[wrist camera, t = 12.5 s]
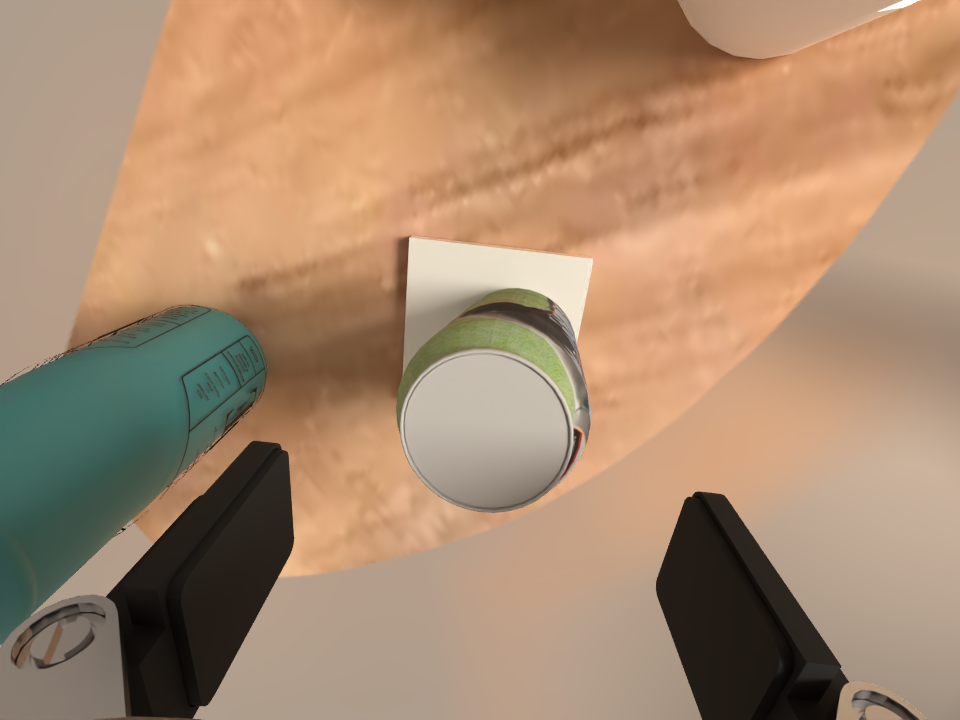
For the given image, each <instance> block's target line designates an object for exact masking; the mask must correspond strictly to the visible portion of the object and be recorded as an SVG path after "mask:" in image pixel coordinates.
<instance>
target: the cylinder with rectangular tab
mask: <svg viewBox="0 0 960 720" xmlns="http://www.w3.org/2000/svg"><path fill="white" fill-rule="evenodd" d="M677 1H678V3H679V5H680V7H681V8H682V10H683V12H684V14H685V16H686V18H687V20H688V22H689V23H690V25H691V26H692V27H693V28H694V29H695V30H696V31H697V32H698V33H699V34H700V35H701V36H702V37H703V38H704V39H705V40H706V41H707V42H708V43H709V44H710V45H713V46H715V47H717V48H719V49H721V50H723V51H725V52H727V53H729V54H731V55H733V56H739V57H746V58H754V59H766V58H772V57H777V56H783V55H789V54H792V53H794V52H797V51H799V50H802V49H804V48H806V47H809V46H811V45H814V44H816V43H819V42H821V41H823V40H826V39H828V38H831V37H833V36H836V35H838V34H840V33H843V32H845V31H848V30H850V29H853V28H855V27H857V26H860V25H862V24H865V23H867V22H869V21H872V20H874V19H877V18H879V17H882V16H884V15H886V14H889V13H891V12H894V11H896V10H899V9H901V8H903V7H906V6H908V5H910V4H912V3H915V2H917V1H919V0H677Z"/></svg>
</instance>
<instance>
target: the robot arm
mask: <svg viewBox="0 0 960 720" xmlns="http://www.w3.org/2000/svg"><path fill="white" fill-rule="evenodd" d="M293 543H294V531H293V516H292V501H291V486H290V471H289V456H288V452H287V451H284V450H282V449H281V446H280V444H278V443H270V442H261V441H252V442H251V443H250V444H249V445H248V446H247V447H246V448H245V449H244V450H243V452H242V453H241V454H240V455H239V456H238V457H237V458H236V459H235V460H234V461H233V463H232V464H231V465H230V466H229V467H228V468H227V469H226V470H225V471H224V473H223V474H222V475H221V476H220V477H219V478H218V479H217V480H216V481H215V483H214V484H213V485H212V486H211V487H210V488H209V489H208V490H207V491H206V493H205V494H204V495H201V496H199V497H198V498H196V499H195V500H194V501H193V502H192V503H191V504H190V505H189V506H188V507H187V509H186V510H185V511H184V512H183V513H182V514H181V515H180V516H179V517H178V518H177V519H176V521H175V522H174V523H173V524H172V525H171V526H170V527H169V528H168V529H167V530H166V531H165V533H164V534H163V535H162V536H161V537H160V538H159V539H158V540H157V541H156V542H155V543H154V545H153V546H152V547H151V548H150V549H149V550H148V551H147V552H146V553H145V554H144V555H143V557H142V558H141V559H140V560H139V561H138V562H137V563H136V564H135V565H134V566H133V567H132V569H131V570H130V571H129V572H128V573H127V574H126V575H125V576H124V577H123V578H122V580H121V581H120V582H119V583H118V584H117V585H116V586H115V587H114V588H113V589H112V590H111V592H110V593H109V594H108V595H107V596H106V597H103V596H98V595H85V596H77V597H73V598H69V599H65V600H62V601H59V602H57V603H55V604H53V605H51V606H48V607H46V608H44V609H42V610H41V611H39V612H38V613H36V614H34V615H33V616H31V617H29V618H28V619H26V620H25V621H24V622H23V623H22V624H21V625H19V626H18V627H17V628H16V629H15V630H14V631H13V632H11V634H10V635H9V636H8V638H7V639H6V640H5V642H4V643H3V644H2V645H1V647H0V720H199V719H193V717H194V715H195V713H196V711H197V710H198V708H199V706H206V705H208V704H209V702H210V701H211V700H212V698H213V696H214V695H215V693H216V691H217V689H218V687H219V685H220V684H221V682H222V680H223V678H224V676H225V674H226V672H227V671H228V669H229V667H230V665H231V663H232V661H233V660H234V658H235V656H236V654H237V652H238V650H239V648H240V647H241V645H242V643H243V641H244V639H245V637H246V636H247V634H248V632H249V630H250V628H251V626H252V624H253V623H254V621H255V619H256V617H257V615H258V613H259V611H260V609H261V608H262V606H263V604H264V602H265V600H266V598H267V597H268V595H269V593H270V591H271V589H272V587H273V586H274V584H275V582H276V580H277V578H278V576H279V574H280V573H281V571H282V569H283V567H284V565H285V563H286V561H287V560H288V558H289V556H290V554H291V551H292V548H293ZM656 592H657V597H658V599H659V602H660V605H661V608H662V610H663V613H664V616H665V619H666V621H667V624H668V627H669V630H670V632H671V635H672V638H673V641H674V643H675V646H676V649H677V652H678V654H679V657H680V660H681V662H682V665H683V668H684V670H685V673H686V676H687V679H688V682H689V684H690V687H691V690H692V693H693V695H694V698H695V701H696V703H697V706H698V709H699V712H700V714H701V717H702V720H928V719H927V718H925V717H924V716H923V715H922V714H921V713H920V712H919V711H918V710H917V709H915V707H913V706H912V705H911V704H909V703H908V702H906V701H905V700H903V699H902V698H901V697H899V696H898V695H896V694H895V693H893V692H891V691H889V690H887V689H885V688H883V687H881V686H879V685H875V684H872V683H869V682H865V681H852V682H850V683H849V681H848V680H847V679H846V677H845V675H844V674H843V672H842V671H841V669H840V668H841V665H840V664H839V662H838V661H837V659H836V658H835V656H834V655H833V653H832V652H831V650H830V649H829V647H828V646H827V644H826V643H825V641H824V640H823V639H822V637H821V636H820V634H819V633H818V631H817V630H816V629H815V627H814V625H813V624H812V622H811V621H810V620H809V618H808V617H807V615H806V614H805V612H804V611H803V609H802V608H801V606H800V605H799V603H798V602H797V600H796V599H795V598H794V596H793V595H792V593H791V592H790V590H789V589H788V587H787V586H786V584H785V583H784V581H783V580H782V578H781V577H780V576H779V574H778V573H777V571H776V570H775V568H774V567H773V565H772V564H771V562H770V561H769V559H768V558H767V556H766V555H765V554H764V552H763V551H762V549H761V548H760V546H759V545H758V543H757V542H756V540H755V539H754V537H753V536H752V535H751V533H750V532H749V530H748V529H747V527H746V526H745V525H744V523H743V521H742V520H741V518H740V517H739V515H738V514H737V513H736V511H735V510H734V508H733V507H732V505H731V504H730V502H729V501H728V499H727V498H726V497H725V496H724V495H722V494H716V493H707V492H695V493H694V494H693V496H692V497H687V498H686V500H685V501H684V504H683V507H682V510H681V513H680V515H679V518H678V521H677V524H676V527H675V529H674V532H673V535H672V538H671V541H670V543H669V546H668V549H667V552H666V555H665V558H664V560H663V563H662V566H661V569H660V572H659V575H658V577H657V581H656Z"/></svg>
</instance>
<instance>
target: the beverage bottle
mask: <svg viewBox="0 0 960 720" xmlns="http://www.w3.org/2000/svg"><path fill="white" fill-rule="evenodd" d="M179 306H182V305H179ZM190 306H195V305H190ZM173 307H174V306H173ZM171 308H172V307H171ZM168 309H169V308H168ZM166 310H167V308H166ZM164 311H165V310H164ZM161 312H162V311H161ZM159 313H160V312H159ZM154 315H155V314H154ZM151 316H152V317H153V315H151ZM152 317H151V318H152ZM147 318H149V317H147ZM147 318H145V320H147ZM151 318H150V319H149V320H147V321H145V320H143V319H144V318H143V319H141V320H143V321H144V322H142V323H140V324H138V323H139V322H140V321H141V320H138V321H136V322H134V323H131V324H129V325H127V326H124V327H122V328H119V329H117V330H115V331H112V332H110V333H108V334H105V335H102V336H100V337H98V338H97V339H99V338H102V337H104V336H106V335H109V334H111V333H114V332H115V333H114V334H113V335H112V336H110V337H108V338H106V339H103V340H101V341H100V340H99V342H96V343H94V344H92V345H90V344H91V343H92V342H93V341H95V340H97V339H95V340H93V341H92V342H91V341H90V342H91V343H90V344H89V345H88V346H87V347H85V348H82V349H80V350H75V348H74V350H75V352H73V351H74V350H73V351H71V352H73V353H70V354H68V355H66V354H64V353H65V352H64V353H62V354H64V357H61V358H59V359H58V358H57V359H56V360H55V361H52V362H50V363H48V364H45V365H43V366H40V367H39V368H36V369H34V370H32V371H30V372H27V373H25V374H23V375H21V376H19V377H17V378H15V379H14V380H12V381H9V382H7V383H5V384H4V383H3V384H2V385H0V645H2V644H3V643H4V642H5V640H6V639H7V638H8V636H9V635H10V634H11V632H13V631H14V630H15V629H16V628H17V627H18V626H19V625H21V624H22V623H23V622H24V621H25V620H26V619H28V618H29V617H30V616H31V614H32V613H33V612H34V611H36V610H37V609H38V608H39V607H40V606H41V605H42V604H43V603H44V602H45V601H46V600H47V599H48V598H49V597H50V596H51V595H52V594H53V593H55V592H56V591H57V589H59V588H60V587H61V586H62V585H63V584H64V583H65V582H66V581H67V580H68V579H69V578H70V577H71V576H72V575H74V574H75V573H76V571H78V570H79V569H80V568H81V567H82V566H83V565H84V564H85V563H86V562H87V561H88V560H89V559H90V558H91V557H92V556H94V555H95V554H96V553H97V552H98V551H99V550H100V549H101V548H102V547H103V546H104V545H105V544H106V543H107V542H108V541H109V540H110V539H111V538H113V537H114V536H115V535H116V534H117V532H119V531H120V530H123V531H124V530H125V529H124V528H123V527H124V526H125V525H126V524H127V523H128V522H129V521H131V520H132V519H133V518H134V517H135V516H136V515H138V514H139V513H140V512H141V511H142V510H143V509H144V508H146V507H147V506H148V505H149V504H150V503H151V502H152V501H153V500H154V499H155V498H156V497H157V496H158V495H159V494H160V493H161V492H162V491H163V490H164V489H165V488H166V487H170V486H169V484H170V485H171V484H173V483H172V482H173V481H174V480H175V479H176V478H177V477H178V476H179V475H180V474H181V473H182V472H183V471H184V470H185V469H187V467H188V466H189V465H190V464H191V463H192V462H193V461H194V460H195V459H196V458H197V457H198V456H199V455H200V454H202V453H203V452H204V451H205V450H206V449H207V448H208V447H209V446H210V445H211V444H212V443H213V442H214V441H215V440H216V439H217V438H218V437H219V436H220V435H221V434H222V433H223V434H224V432H225V431H226V430H227V429H228V428H229V427H230V426H232V424H233V426H232V427H231V428H230V429H229V430H228V431H227V432H226V433H225V434H224V435H223V434H222V435H223V436H221V438H220V439H219V440H218V441H217V442H216V443H215V444H214V445H213V446H212V445H211V446H212V447H211V446H210V447H211V448H209V450H211V449H212V448H213V447H214V446H215V445H216V444H217V443H218V442H219V441H220V440H221V439H222V438H223V437H224V436H225V435H226V434H227V433H228V432H229V431H230V430H231V429H232V428H233V427H234V426H235V425H236V424H237V423H238V422H239V421H238V422H237V423H235V422H236V421H237V420H238V419H239V418H240V417H241V416H243V414H244V413H245V412H246V411H247V410H248V409H249V408H250V407H252V405H253V403H254V402H255V401H256V400H257V399H258V398H259V396H260V394H261V392H262V390H263V387H264V388H265V385H264V384H265V381H266V375H267V365H266V359H265V356H264V353H263V350H262V348H261V346H260V344H259V342H258V340H257V339H256V338H255V336H254V335H253V333H252V332H251V331H250V330H249V329H248V328H247V327H246V326H245V325H244V324H242V323H241V322H240V321H239V320H237V319H236V318H234V317H232V316H231V315H229V314H227V313H225V312H222V311H220V310H216V309H213V308H208V307H201V306H198V307H179V308H177V309H174V310H173V309H170V310H168V312H165V313H164V314H161V315H159V316H157V317H154V318H152V319H151ZM137 322H138V323H137ZM135 323H137V325H136V326H133V327H131V328H129V329H126V330H124V331H122V332H119V333H117V334H116V332H117V331H118V330H121V329H123V328H125V327H128V326H130V325H132V324H135ZM88 343H89V342H88ZM86 344H87V343H86ZM83 345H84V344H83ZM81 346H82V345H81ZM78 347H79V346H78ZM78 347H76V348H78ZM72 349H73V348H72ZM72 349H71V350H72ZM69 351H70V350H69ZM69 351H67V353H68V352H69ZM65 355H66V356H65ZM37 366H38V365H37ZM15 375H16V374H15ZM7 381H8V380H7ZM263 391H264V390H263ZM262 394H263V393H262ZM261 396H262V395H261ZM259 400H260V399H259ZM254 406H255V405H254ZM254 406H253V407H254ZM252 409H253V408H252ZM248 412H249V411H248ZM248 412H247V413H248ZM247 413H246V414H247ZM246 414H244V416H245V415H246ZM244 416H243V417H244ZM243 417H242V418H243ZM234 423H235V424H234ZM209 450H208V451H209ZM208 451H207V452H208ZM207 452H206V453H207ZM204 454H205V452H204ZM205 455H206V454H205ZM197 461H198V460H197ZM198 462H199V461H198ZM198 462H197V463H198ZM194 463H195V462H194ZM194 463H193V465H194ZM195 464H196V463H195ZM194 466H195V465H194ZM190 467H191V466H190ZM188 468H189V467H188ZM191 469H192V468H191ZM191 469H189V470H191ZM187 470H188V469H187ZM184 473H186V471H185V472H184ZM184 473H183V474H184ZM184 475H186V474H184ZM184 475H183V476H184ZM179 480H180V479H179ZM174 483H175V482H174ZM171 488H172V487H171ZM167 490H168V489H167ZM167 490H166V491H167ZM163 495H164V494H163ZM160 499H161V498H160ZM147 512H148V511H147ZM140 518H141V517H140ZM136 521H137V520H136ZM136 521H135V522H136ZM119 534H120V533H119ZM117 535H118V534H117Z"/></svg>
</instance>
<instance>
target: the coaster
mask: <svg viewBox="0 0 960 720" xmlns="http://www.w3.org/2000/svg"><path fill="white" fill-rule="evenodd" d="M593 260H594V259H593V258H592V257H591V256H584V255H575V254H567V253H558V252H550V251H541V250H533V249H524V248H516V247H507V246H498V245H490V244H481V243H473V242H464V241H456V240H447V239H438V238H430V237H421V236H413V235H412V236H411V237H409V254H408V274H407V294H406V315H405V335H404V355H403V374H404V372H405V370H406V368H407V366H408V364H409V362H410V360H411V359H412V358H413V356H414V355H415V354H416V352H417V351H418V350H419V349H420V348H421V347H422V346H423V345H424V344H425V343H426V342H427V341H428V340H429V339H430V338H432V337H433V336H434V335H435V334H437V333H438V332H439V331H440V330H442V329H443V328H444V327H445V326H447V325H448V324H449V323H450V322H452V321H453V320H454V319H455V318H457V317H458V316H459V315H460V314H462V313H463V312H464V311H465V310H467V309H468V308H469V307H470V306H471V305H473V304H474V303H475V302H476V301H478V300H479V299H481V298H482V297H484V296H486V295H487V294H490V293H492V292H495V291H497V290H502V289H507V288H522V289H528V290H532V291H535V292H538V293H540V294H542V295H544V296H546V297H548V298H550V299H551V300H552V301H553V302H555V303H556V304H557V305H558V306H559V307H560V308H561V309H562V311H563V312H564V313H565V314H566V316H567V318H568V319H569V321H570V323H571V325H572V328H573V331H574V334H575V338H576V343H577V340H578V335H579V330H580V325H581V320H582V315H583V310H584V305H585V300H586V295H587V290H588V285H589V280H590V275H591V270H592V265H593Z"/></svg>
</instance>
